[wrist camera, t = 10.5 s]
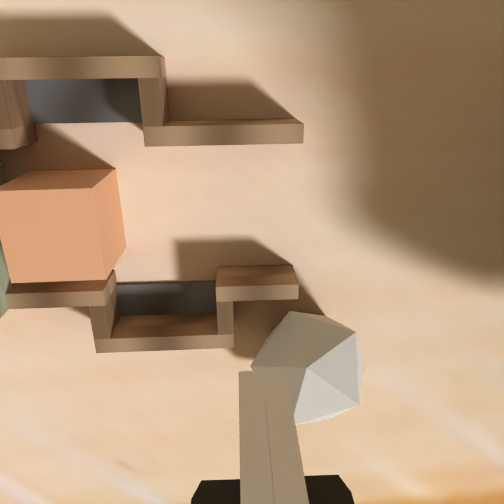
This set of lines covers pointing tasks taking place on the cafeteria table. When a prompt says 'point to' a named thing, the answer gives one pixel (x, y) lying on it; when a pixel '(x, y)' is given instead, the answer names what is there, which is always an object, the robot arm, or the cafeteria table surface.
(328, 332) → the die
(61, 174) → the block
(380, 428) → the cafeteria table surface
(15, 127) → the trap lane
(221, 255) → the cafeteria table surface
